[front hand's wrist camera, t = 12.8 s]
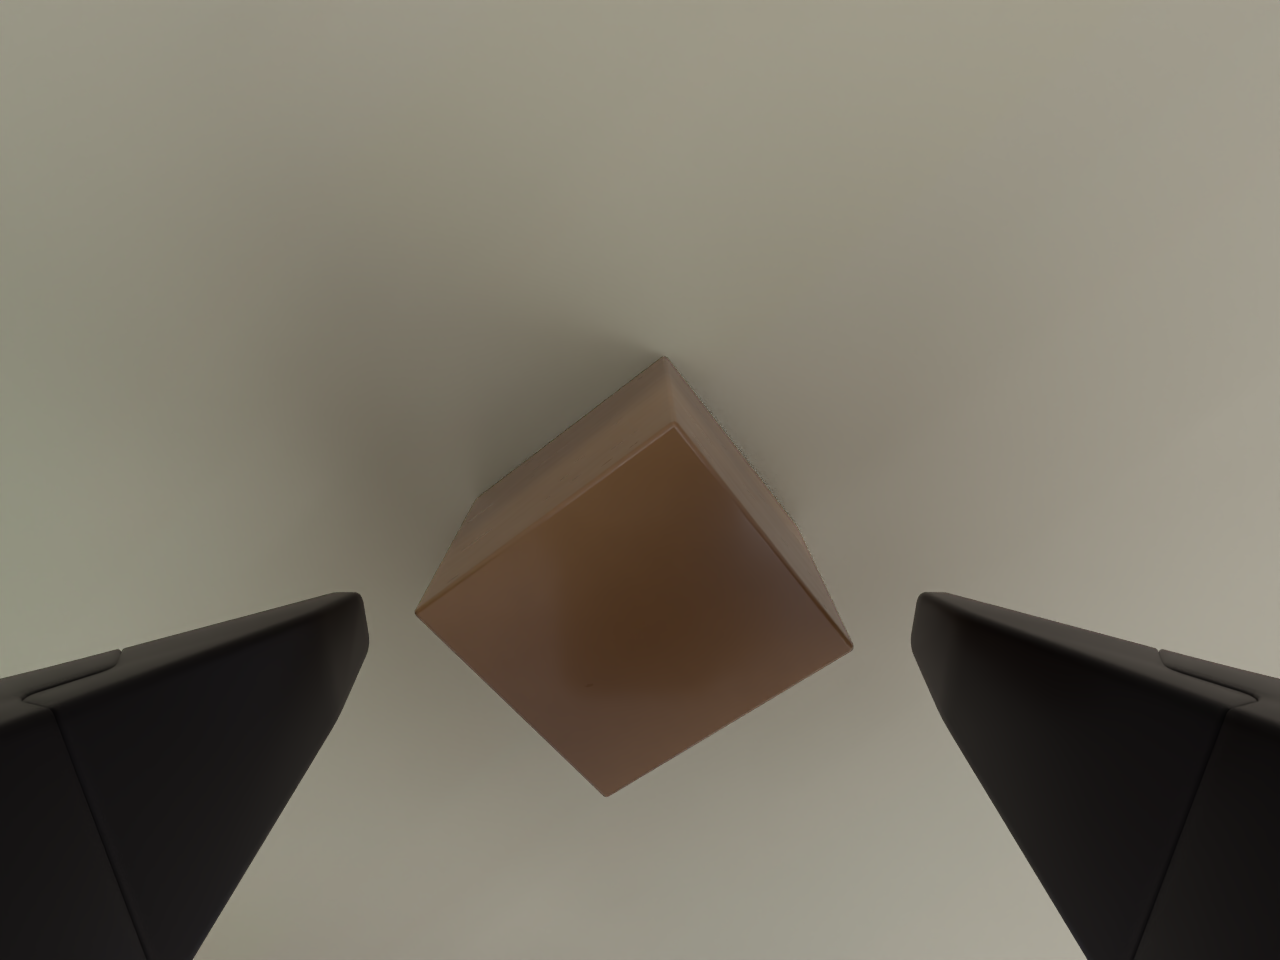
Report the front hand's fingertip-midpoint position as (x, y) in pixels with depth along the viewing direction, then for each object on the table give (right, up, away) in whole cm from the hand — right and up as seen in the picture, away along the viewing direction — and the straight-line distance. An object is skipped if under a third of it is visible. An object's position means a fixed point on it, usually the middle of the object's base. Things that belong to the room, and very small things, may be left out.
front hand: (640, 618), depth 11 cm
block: (0, +1, +4) cm, 4 cm away
